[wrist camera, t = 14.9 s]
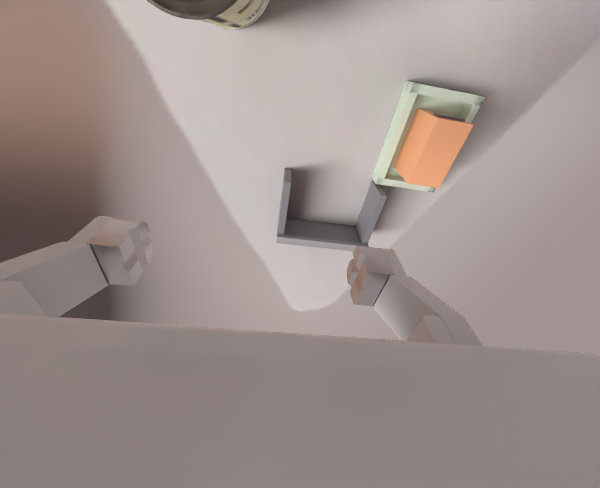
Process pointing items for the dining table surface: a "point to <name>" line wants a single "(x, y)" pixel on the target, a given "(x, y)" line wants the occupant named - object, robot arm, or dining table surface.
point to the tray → (404, 113)
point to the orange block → (431, 147)
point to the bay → (330, 233)
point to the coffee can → (215, 11)
